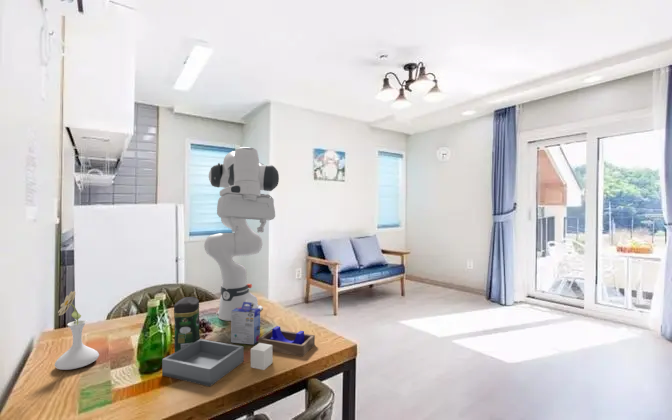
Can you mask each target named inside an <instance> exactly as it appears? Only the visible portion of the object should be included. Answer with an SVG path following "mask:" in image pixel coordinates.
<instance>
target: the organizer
mask: <svg viewBox="0 0 672 420" xmlns="http://www.w3.org/2000/svg"><path fill="white" fill-rule="evenodd" d="M281 333H282V334H283V336H284V337H285V338H286V339H288V340H290V341H294V340H295V338H296V333H297V332H295V331H288V330H282V329H281ZM315 336H316V335H314V334H308V333H304V343H303V344H302V345H300V344H294V343H288V342H282V341H276V340H270V338H271V337H272V329H270V330H269V331H268V332H266V333H264V334H263V335H262V336H260V338H259V339H258V342H257V344H258V343H264V344H269V345H272V352H276V353H282V354H288V355H292V356H299V357H304V356H305V355H307V353H308V352H309V351H310V350H311V349H312V348H313V347H314V346H315Z"/></svg>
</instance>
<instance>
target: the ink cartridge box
mask: <svg viewBox="0 0 672 420" xmlns="http://www.w3.org/2000/svg"><path fill="white" fill-rule="evenodd" d="M245 304H249V305H250V306H244V305H245ZM251 305H252V303H250V302H243V305H242V308H240V307H238V308H236V309H234V310H232V311H231V321H230V343H231V344H232V343H234V344H245V345H246V344H247V345H256V344H257V343H258V339H259V338H260V337H261V310H260V308H251Z"/></svg>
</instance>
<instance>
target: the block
mask: <svg viewBox="0 0 672 420" xmlns="http://www.w3.org/2000/svg"><path fill="white" fill-rule="evenodd" d="M271 364H273V351H272V345H269V344H264V343H258V342H257V343H256V344H255V345H253V346H252V347H251V348H250V368H253V369H255V370H256V369H257V370H261V371H265V370H267V368H269V366H271Z"/></svg>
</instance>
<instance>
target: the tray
mask: <svg viewBox="0 0 672 420" xmlns="http://www.w3.org/2000/svg"><path fill="white" fill-rule="evenodd" d="M244 348H245V347H244V346H242V345H238V344H232V343H226V342H220V341H215V340H208V339H202V338H200V339H199V340H197V341H196V342H194V343H192V344H190V345H188V346H186V347H184V348H182V349H180V350H179V351H177V352H175V351H174V352H173V353H171V354H170V355H167V356H166V357H164V358H161V359H162V361H161V363H162V364H161V365H162V366H161V368H162V371H161V372H162V376H163V377H168V378H172V379H175V380H176V379H177V380H181V381H185V382H189V383H194V384H198V385H203V386H206V387H211V386H213V385H214V384H215V383H217V382H218V381H219V380H221V379H222V378H224V376H226V375H227V374H229V373H230V372H232V371H233V370H234V369H235V368H237V367H238V366H240V365H241V364H242V363H244V362H245V361H244V355H245V354H244V350H245V349H244Z"/></svg>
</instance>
